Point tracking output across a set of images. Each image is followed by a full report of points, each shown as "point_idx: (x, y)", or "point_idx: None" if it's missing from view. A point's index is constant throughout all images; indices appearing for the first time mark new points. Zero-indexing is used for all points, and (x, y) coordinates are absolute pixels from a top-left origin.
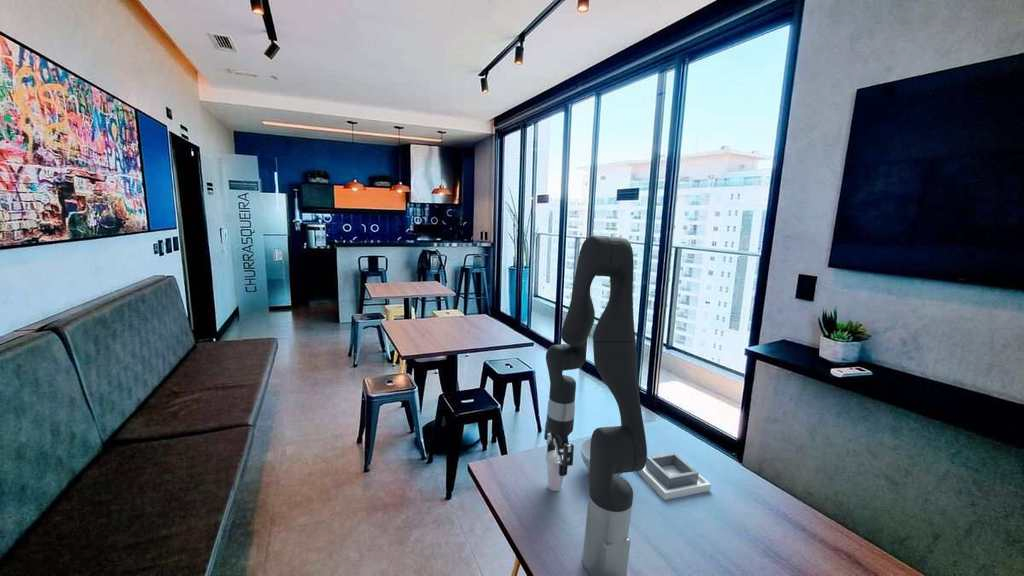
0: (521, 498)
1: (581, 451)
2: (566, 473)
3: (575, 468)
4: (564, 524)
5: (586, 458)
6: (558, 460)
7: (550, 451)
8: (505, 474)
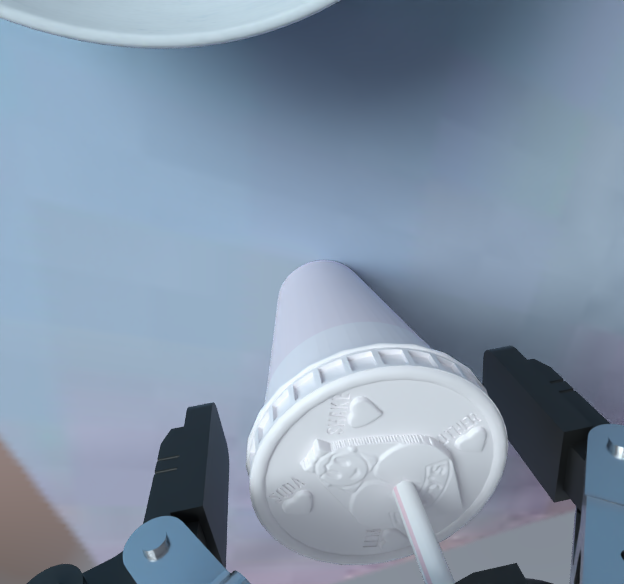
0: None
1: (126, 46)
2: (552, 374)
3: (88, 66)
4: (615, 310)
5: (297, 21)
6: (453, 474)
7: (275, 528)
8: None
